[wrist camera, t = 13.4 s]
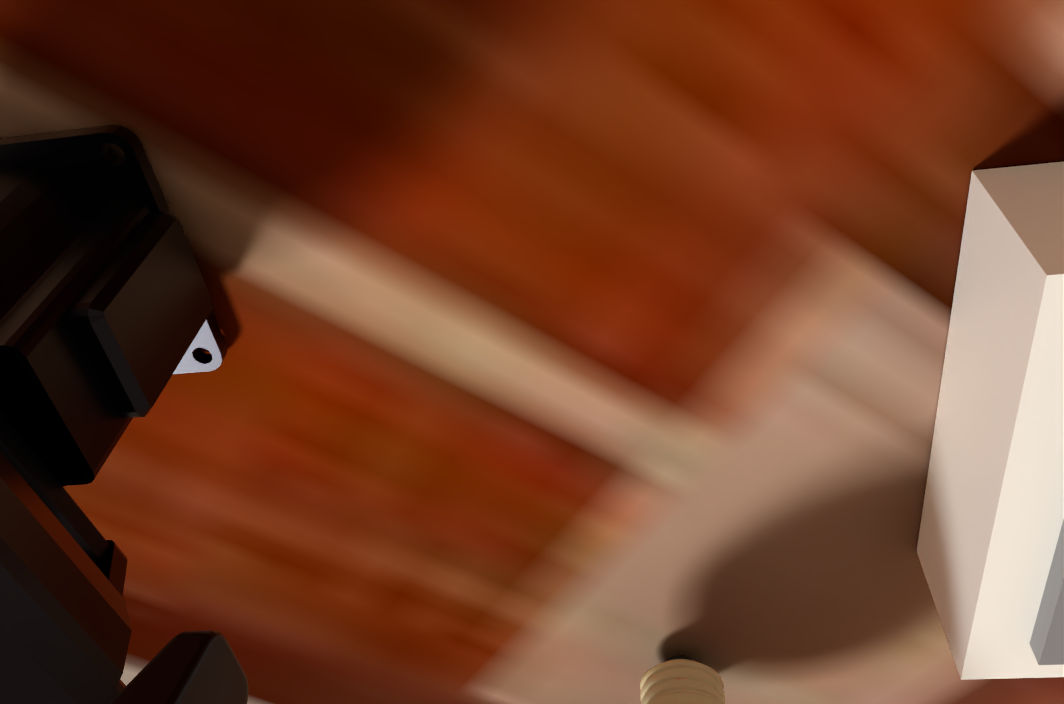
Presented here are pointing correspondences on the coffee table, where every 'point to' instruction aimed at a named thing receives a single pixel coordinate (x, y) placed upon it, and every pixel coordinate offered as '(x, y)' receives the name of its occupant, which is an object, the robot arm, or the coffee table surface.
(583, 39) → the coffee table surface
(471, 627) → the coffee table surface
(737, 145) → the coffee table surface
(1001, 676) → the socket block
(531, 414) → the coffee table surface
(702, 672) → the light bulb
